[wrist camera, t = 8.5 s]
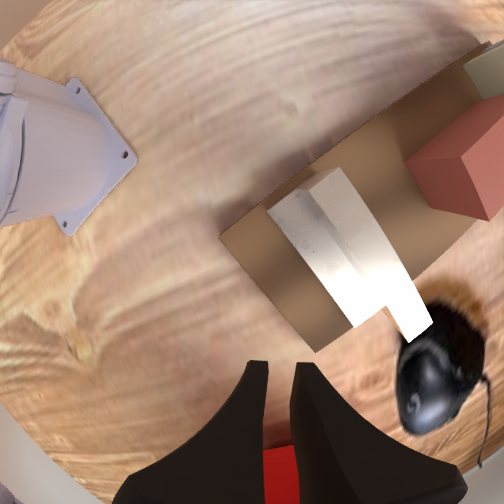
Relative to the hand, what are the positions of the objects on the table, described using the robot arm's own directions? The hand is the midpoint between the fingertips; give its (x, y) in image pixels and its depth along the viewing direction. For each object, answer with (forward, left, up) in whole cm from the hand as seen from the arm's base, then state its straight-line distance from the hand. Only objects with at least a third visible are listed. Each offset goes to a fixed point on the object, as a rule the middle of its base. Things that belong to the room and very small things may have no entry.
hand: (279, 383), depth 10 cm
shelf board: (0, +14, -9) cm, 17 cm away
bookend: (0, +5, -8) cm, 9 cm away
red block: (0, +16, -8) cm, 18 cm away
